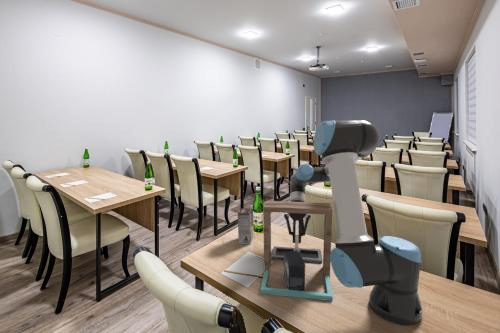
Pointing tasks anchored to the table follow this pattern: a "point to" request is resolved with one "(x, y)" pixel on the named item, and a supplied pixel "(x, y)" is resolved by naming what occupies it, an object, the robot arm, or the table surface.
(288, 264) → the small box
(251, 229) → the coffee box
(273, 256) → the pit plate
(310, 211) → the tunnel
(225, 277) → the table surface
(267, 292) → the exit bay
